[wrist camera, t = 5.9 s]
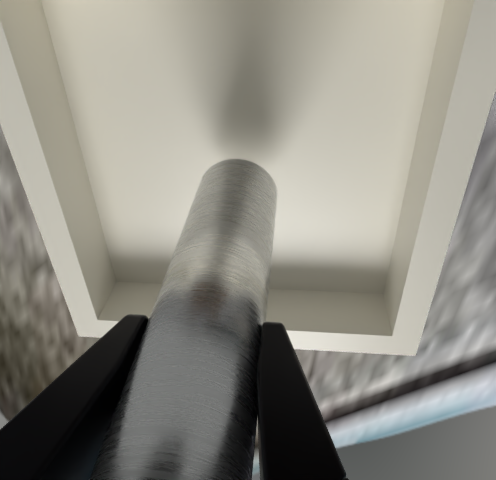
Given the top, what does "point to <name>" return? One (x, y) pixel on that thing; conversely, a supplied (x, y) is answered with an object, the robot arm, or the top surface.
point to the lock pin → (201, 342)
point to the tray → (252, 146)
